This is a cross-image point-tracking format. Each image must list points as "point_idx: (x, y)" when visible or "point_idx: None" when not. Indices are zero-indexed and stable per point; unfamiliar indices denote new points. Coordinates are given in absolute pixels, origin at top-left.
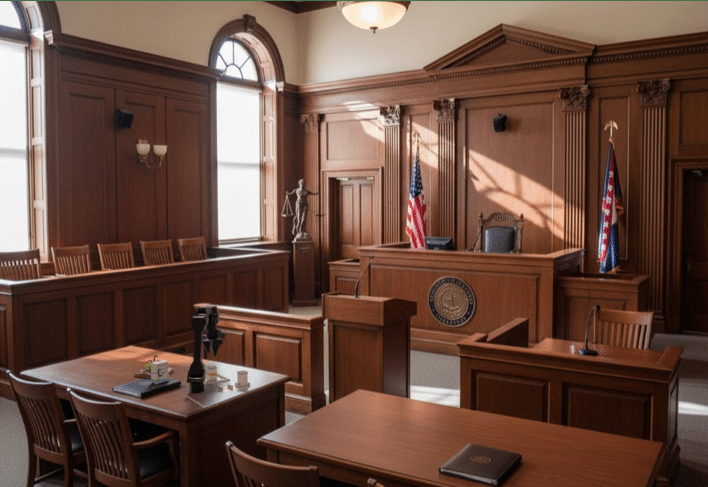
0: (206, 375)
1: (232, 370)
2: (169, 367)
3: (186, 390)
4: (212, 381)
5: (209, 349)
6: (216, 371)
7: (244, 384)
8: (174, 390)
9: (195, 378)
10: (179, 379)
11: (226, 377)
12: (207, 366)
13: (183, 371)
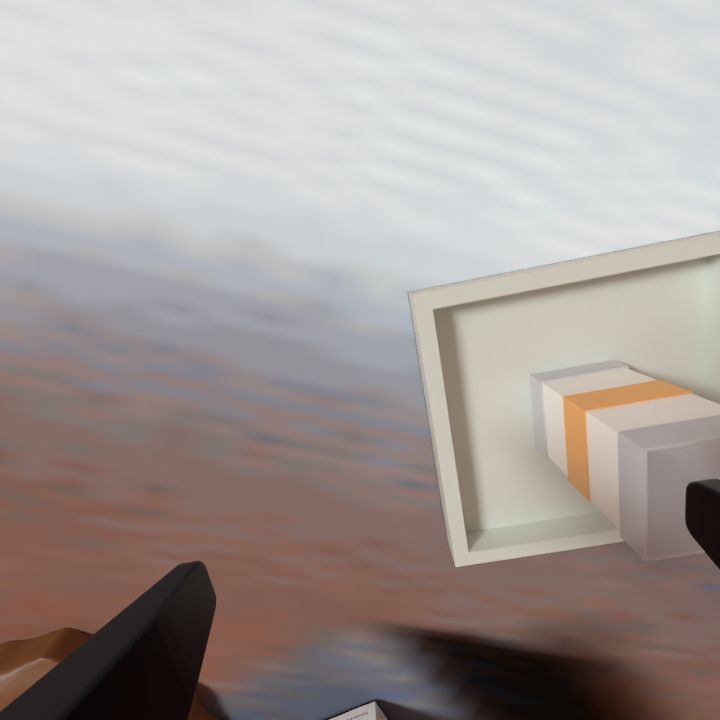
0: (446, 444)
1: (165, 40)
2: (9, 695)
3: (712, 637)
4: None
5: (127, 662)
6: (702, 401)
7: None
8: (652, 702)
9: (502, 558)
10: (340, 626)
11: (667, 253)
12: (661, 553)
13: (60, 555)
